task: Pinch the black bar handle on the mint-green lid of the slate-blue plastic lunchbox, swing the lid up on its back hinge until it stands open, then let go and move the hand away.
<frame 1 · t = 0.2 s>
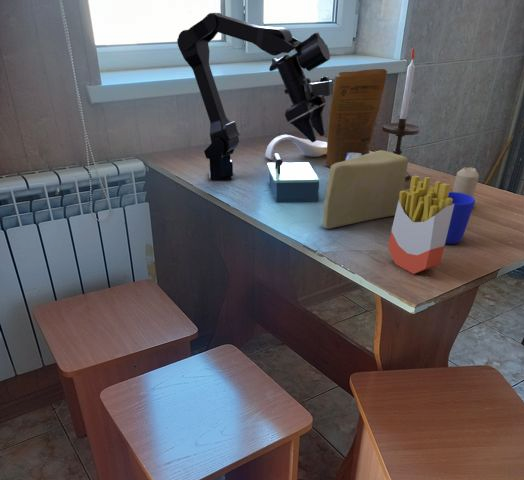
hand: (318, 138, 138), 14 cm above the table, tool tilted 30°, fingers open, 9 cm apart
medicine box: (350, 187, 151), on the table
pancake mix bag: (349, 165, 169), on the table
cheese: (356, 220, 130), on the table
candle: (460, 206, 139), on the table
french fries container: (410, 267, 108), on the table
spoon rest: (299, 156, 177), on the table
lunchbox lid: (292, 164, 142), point 8 cm above the table, hinge at 0.0°
lunchbox: (292, 191, 146), on the table
mug: (437, 240, 120), on the table
candlestick: (393, 176, 160), on the table
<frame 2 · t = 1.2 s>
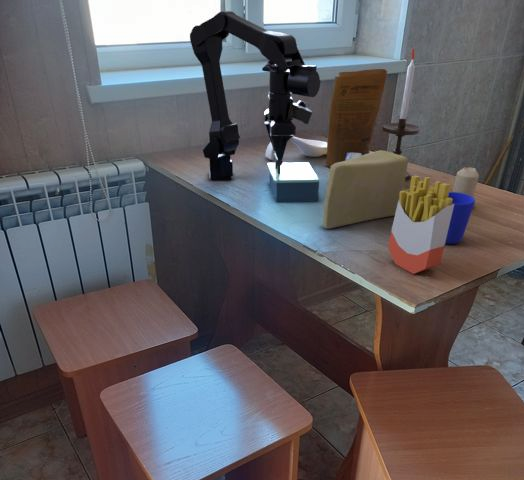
hand: (277, 155, 140), 10 cm above the table, tool pointing down, fingers open, 9 cm apart
nothing on the table moved.
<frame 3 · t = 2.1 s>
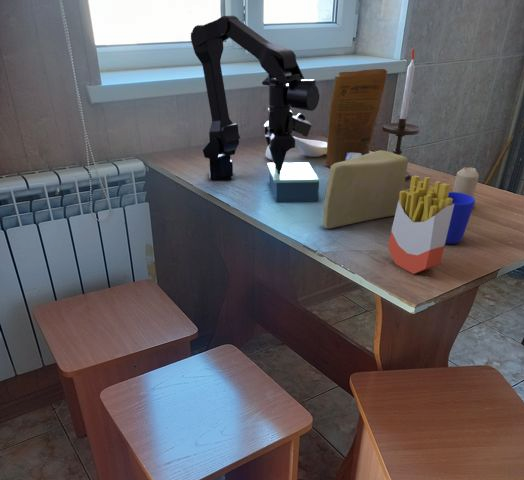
hand: (277, 167, 142), 7 cm above the table, tool pointing down, fingers closed on lunchbox lid, 6 cm apart
lunchbox lid: (292, 164, 142), point 8 cm above the table, hinge at 0.0°, touching gripper
everything else where it was.
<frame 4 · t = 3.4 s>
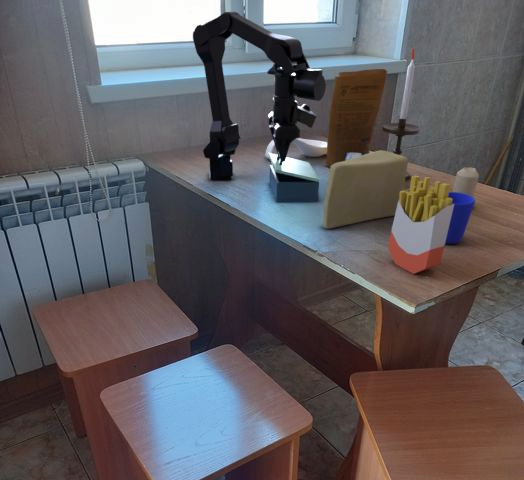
hand: (281, 158, 140), 9 cm above the table, tool pointing down, fingers closed on lunchbox lid, 6 cm apart
lunchbox lid: (294, 159, 141), point 9 cm above the table, hinge at 13.5°, touching gripper
everything else where it was.
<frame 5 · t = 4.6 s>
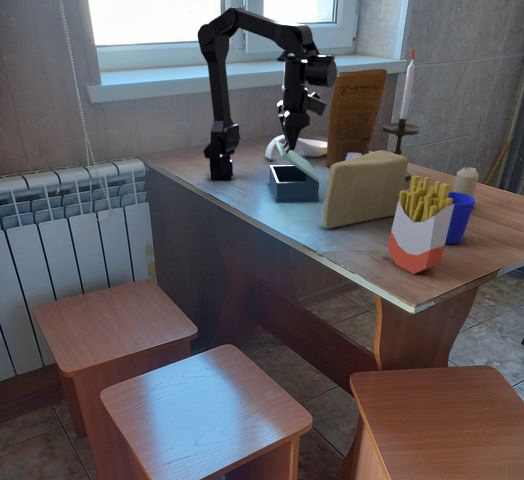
hand: (290, 147, 139), 12 cm above the table, tool pointing down, fingers closed on lunchbox lid, 6 cm apart
lunchbox lid: (300, 153, 140), point 11 cm above the table, hinge at 33.2°, touching gripper
everything else where it was.
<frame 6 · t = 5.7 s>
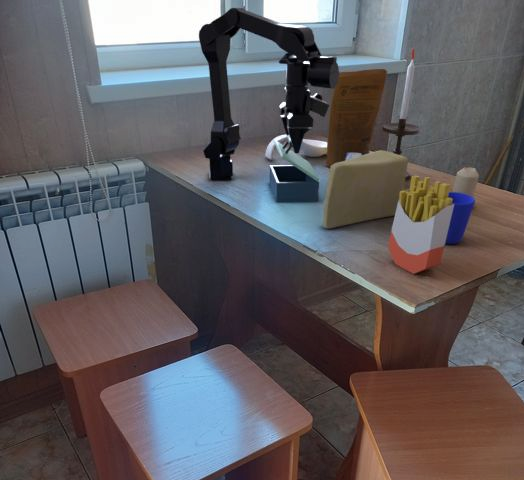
hand: (293, 148, 139), 12 cm above the table, tool pointing down, fingers open, 9 cm apart
lunchbox lid: (300, 153, 140), point 11 cm above the table, hinge at 32.2°
everything else where it was.
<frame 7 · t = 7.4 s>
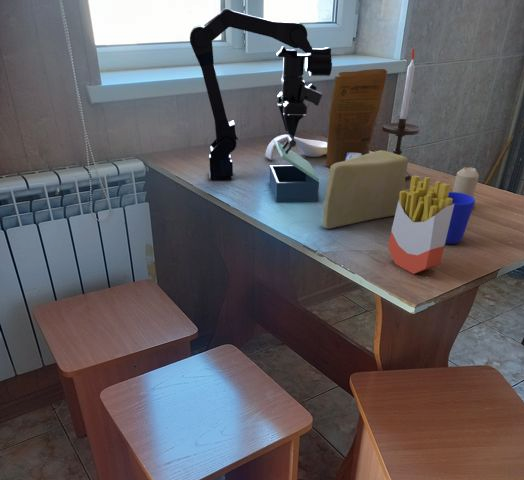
hand: (289, 134, 151), 12 cm above the table, tool pointing down, fingers open, 9 cm apart
nothing on the table moved.
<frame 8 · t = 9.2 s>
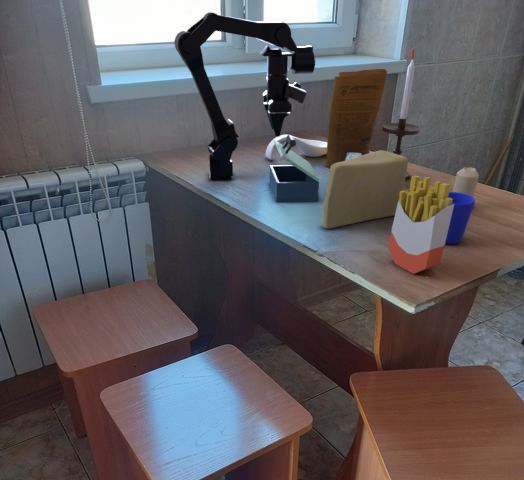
hand: (275, 132, 153), 12 cm above the table, tool pointing down, fingers open, 9 cm apart
nothing on the table moved.
at the end: lunchbox lid at +32° (first picture: +0°); the gripper is holding nothing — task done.
